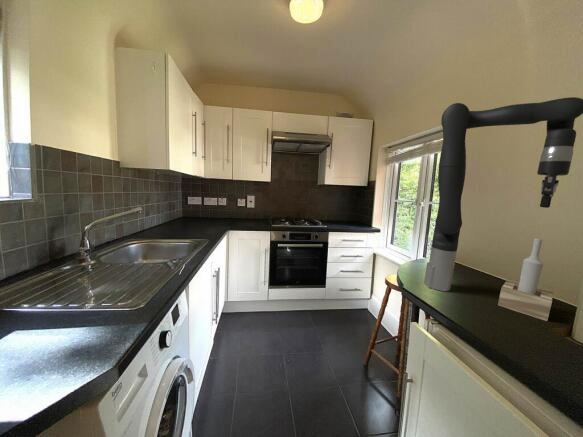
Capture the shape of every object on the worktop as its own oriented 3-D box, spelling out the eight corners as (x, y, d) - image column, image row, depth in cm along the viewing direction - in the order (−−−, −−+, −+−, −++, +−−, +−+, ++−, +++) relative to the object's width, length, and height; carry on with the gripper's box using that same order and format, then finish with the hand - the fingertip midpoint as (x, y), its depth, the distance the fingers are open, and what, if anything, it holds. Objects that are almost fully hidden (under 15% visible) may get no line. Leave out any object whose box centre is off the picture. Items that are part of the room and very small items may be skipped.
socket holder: (547, 321, 81) (551, 301, 80) (497, 305, 91) (501, 287, 90) (548, 310, 90) (552, 292, 89) (503, 296, 100) (506, 280, 99)
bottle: (537, 308, 87) (553, 241, 84) (520, 305, 88) (535, 239, 85) (526, 302, 92) (541, 238, 89) (510, 299, 93) (524, 236, 90)
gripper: (572, 158, 76) (560, 209, 78) (570, 163, 85) (560, 208, 87) (538, 158, 81) (528, 206, 83) (540, 163, 91) (531, 206, 93)
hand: (544, 207), depth 85 cm, fingers open, 8 cm apart
